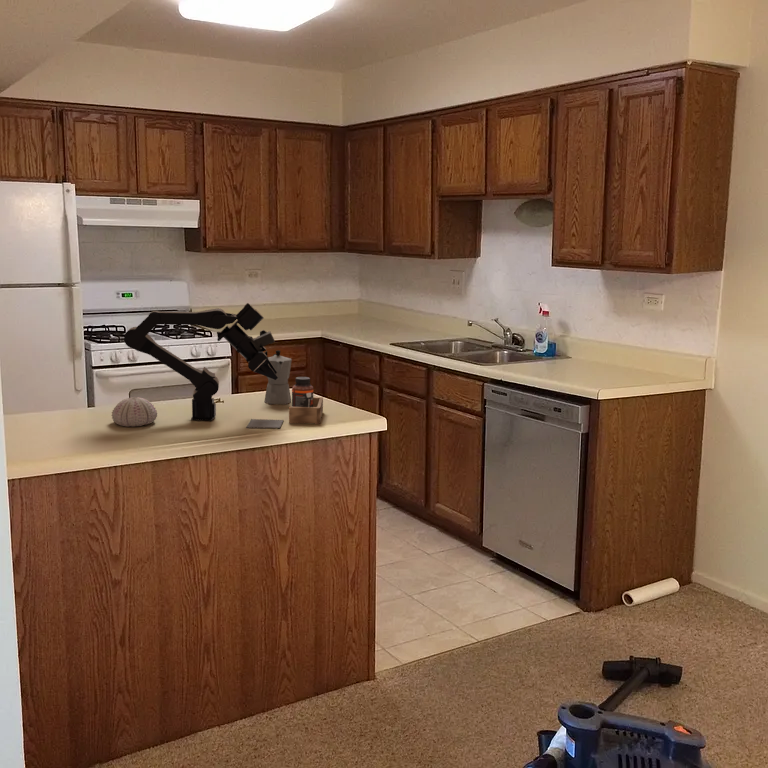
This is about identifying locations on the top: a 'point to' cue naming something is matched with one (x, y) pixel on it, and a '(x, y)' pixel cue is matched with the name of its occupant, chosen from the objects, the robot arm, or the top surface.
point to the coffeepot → (279, 381)
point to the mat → (264, 423)
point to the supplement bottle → (302, 393)
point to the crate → (307, 412)
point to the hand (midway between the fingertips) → (276, 376)
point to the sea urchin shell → (134, 412)
